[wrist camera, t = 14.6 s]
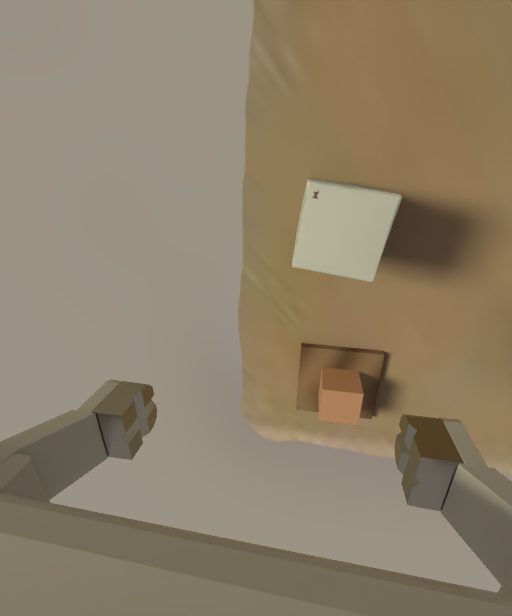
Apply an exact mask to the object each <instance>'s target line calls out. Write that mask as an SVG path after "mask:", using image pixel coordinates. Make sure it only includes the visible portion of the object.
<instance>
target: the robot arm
mask: <svg viewBox="0 0 512 616" xmlns="http://www.w3.org/2000/svg"><path fill="white" fill-rule="evenodd" d="M153 396H154V392H153V387H152V386H150V385H147V384H140V383H132V382H125V381H117V380H109V381H107V382H105V383H104V384H103V385H102V386H101V387H100V388H99V389H98V390H97V391H96V392H95V393H94V394H93V395H92V396H91V397H90V398H89V399H88V400H87V401H86V402H85V403H84V404H83V405H82V406H81V407H80V408H79V409H78V410H71V411H69V412H67V413H64V414H62V415H60V416H58V417H55V418H53V419H51V420H49V421H46V422H44V423H42V424H40V425H37V426H35V427H33V428H30V429H28V430H26V431H24V432H22V433H19V434H17V435H15V436H12V437H10V438H8V439H6V440H3V441H1V442H0V616H512V481H510V480H509V479H508V478H506V477H505V476H504V475H502V474H501V473H500V472H498V471H497V470H496V469H494V468H489V467H487V465H486V463H485V462H484V460H483V458H482V456H481V455H480V453H479V451H478V450H477V448H476V446H475V445H474V443H473V441H472V439H471V438H470V436H469V434H468V433H467V431H466V429H465V427H464V426H463V424H462V422H460V421H459V420H455V419H445V418H439V419H438V418H431V417H422V416H413V415H404V414H403V415H402V417H401V419H400V423H399V426H400V429H401V433H400V434H398V435H397V436H396V441H395V459H396V464H397V468H398V470H399V471H400V472H401V473H402V474H403V479H402V486H403V490H404V493H405V497H406V501H407V504H408V505H411V506H416V507H421V508H426V509H431V510H437V511H442V512H441V514H442V515H443V516H444V517H445V518H446V519H447V521H448V522H449V523H450V524H451V525H452V527H453V528H454V529H455V530H456V531H457V533H458V534H459V535H460V536H461V537H462V539H463V540H464V541H465V542H466V543H467V545H468V546H469V547H470V548H471V549H472V551H473V552H474V553H475V554H476V555H477V557H478V558H479V559H480V560H481V561H482V562H483V564H484V565H485V566H486V567H487V568H488V570H489V571H490V572H491V573H492V574H493V575H494V577H495V578H496V579H497V580H498V582H499V583H500V584H501V585H502V586H501V588H500V590H499V592H498V593H495V592H491V591H486V590H481V589H476V588H471V587H466V586H461V585H456V584H451V583H446V582H441V581H436V580H431V579H426V578H421V577H416V576H412V575H407V574H402V573H396V572H391V571H386V570H381V569H376V568H372V567H367V566H362V565H356V564H352V563H347V562H342V561H337V560H332V559H327V558H321V557H316V556H311V555H306V554H301V553H296V552H291V551H286V550H281V549H276V548H271V547H266V546H261V545H256V544H251V543H246V542H242V541H236V540H231V539H227V538H221V537H217V536H212V535H207V534H202V533H197V532H192V531H187V530H182V529H177V528H172V527H167V526H162V525H158V524H153V523H148V522H143V521H138V520H133V519H127V518H123V517H117V516H113V515H108V514H103V513H98V512H93V511H88V510H83V509H78V508H73V507H68V506H63V505H57V504H53V503H50V501H49V500H50V499H51V498H53V497H54V496H55V495H57V494H58V493H60V492H61V491H62V490H64V489H65V488H67V487H68V486H69V485H71V484H72V483H73V482H75V481H76V480H78V479H79V478H81V477H82V476H83V475H85V474H86V473H88V471H90V470H92V469H93V468H94V467H96V466H97V465H99V464H100V463H101V462H103V461H104V460H105V459H107V457H115V458H123V459H130V460H132V459H133V457H134V456H135V454H136V453H137V451H138V450H139V448H140V447H141V445H142V444H143V442H142V437H143V436H145V435H147V434H148V433H150V431H151V430H152V428H153V427H154V424H155V421H156V417H157V408H156V404H155V403H154V402H153V401H152V400H151V398H152V397H153Z"/></svg>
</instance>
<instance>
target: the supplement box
mask: <svg viewBox="0 0 512 616" xmlns="http://www.w3.org/2000/svg"><path fill="white" fill-rule="evenodd" d="M401 200H402V196H401V195H399V194H397V193H393V192H389V191H384V190H379V189H374V188H369V187H365V186H360V185H355V184H349V183H344V182H337V181H330V180H322V179H313V178H310V179H309V180H308V181H307V185H306V190H305V194H304V199H303V204H302V208H301V213H300V218H299V224H298V229H297V235H296V241H295V248H294V255H293V261H292V267H295V268H300V269H305V270H309V271H315V272H320V273H325V274H331V275H336V276H341V277H346V278H352V279H357V280H363V281H368V282H373V280H374V277H375V274H376V271H377V268H378V265H379V262H380V259H381V256H382V253H383V250H384V248H385V245H386V242H387V239H388V236H389V233H390V231H391V228H392V225H393V222H394V219H395V217H396V214H397V211H398V208H399V205H400V202H401Z"/></svg>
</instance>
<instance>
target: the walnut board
mask: <svg viewBox="0 0 512 616" xmlns="http://www.w3.org/2000/svg"><path fill="white" fill-rule="evenodd" d="M383 360H384V352H383V351H377V350H367V349H357V348H346V347H336V346H326V345H315V344H305V343H302V346H301V358H300V371H299V383H298V396H297V408H296V409H299V410H306V411H314V412H319V399H318V395H319V386H320V378H321V369H322V367H325V368H334V369H344V370H353V371H359V376H360V380H361V385H362V389H363V394H364V395H363V400H362V406H361V411H360V416H359V417H360V418H368V419H372V414H373V409H374V404H375V399H376V394H377V389H378V385H379V380H380V375H381V370H382V365H383Z"/></svg>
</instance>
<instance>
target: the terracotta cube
mask: <svg viewBox="0 0 512 616" xmlns="http://www.w3.org/2000/svg"><path fill="white" fill-rule="evenodd" d="M363 395H364V394H363V389H362V385H361V380H360V376H359V371H353V370H344V369H334V368H325V367H322V369H321V378H320V386H319V395H318V399H319V420H323V421H330V422H337V423H345V424H352V425H358V422H359V416H360V411H361V406H362V400H363Z"/></svg>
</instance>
